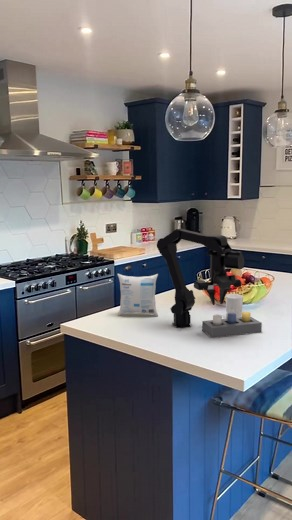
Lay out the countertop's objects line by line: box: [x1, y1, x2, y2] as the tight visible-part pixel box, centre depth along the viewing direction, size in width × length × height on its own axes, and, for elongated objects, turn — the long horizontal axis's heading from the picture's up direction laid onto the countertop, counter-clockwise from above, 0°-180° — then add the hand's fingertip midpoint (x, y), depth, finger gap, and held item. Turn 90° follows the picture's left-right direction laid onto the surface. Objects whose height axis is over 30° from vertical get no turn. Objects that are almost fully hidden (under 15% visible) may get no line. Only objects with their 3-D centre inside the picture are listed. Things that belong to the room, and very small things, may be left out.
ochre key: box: [241, 311, 252, 323], centre depth 189 cm, size 4×4×4 cm
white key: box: [212, 313, 223, 326], centre depth 186 cm, size 4×4×4 cm
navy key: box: [226, 313, 236, 324], centre depth 187 cm, size 4×4×4 cm
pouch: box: [117, 273, 159, 317], centre depth 212 cm, size 8×19×20 cm, turn 79°
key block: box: [201, 316, 263, 339], centre depth 188 cm, size 22×10×4 cm, turn 106°
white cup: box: [225, 293, 244, 318], centre depth 207 cm, size 8×8×10 cm
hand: (217, 304), depth 185 cm, fingers open, 3 cm apart
